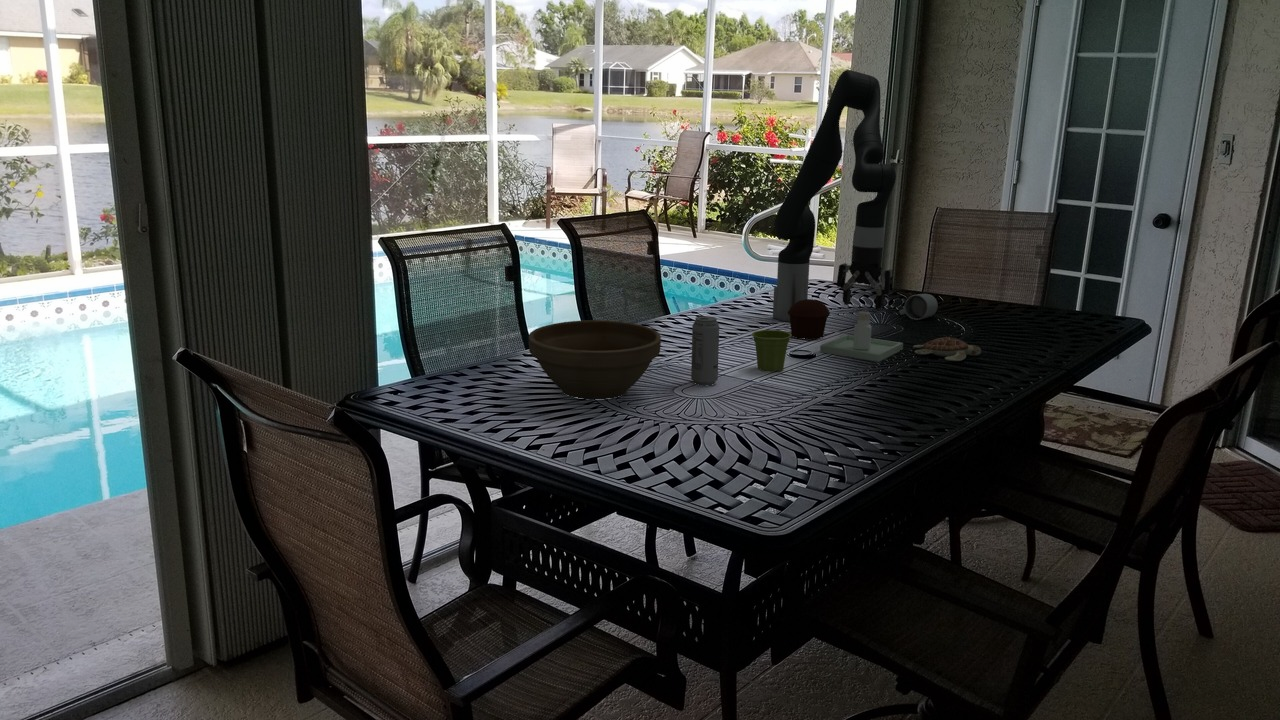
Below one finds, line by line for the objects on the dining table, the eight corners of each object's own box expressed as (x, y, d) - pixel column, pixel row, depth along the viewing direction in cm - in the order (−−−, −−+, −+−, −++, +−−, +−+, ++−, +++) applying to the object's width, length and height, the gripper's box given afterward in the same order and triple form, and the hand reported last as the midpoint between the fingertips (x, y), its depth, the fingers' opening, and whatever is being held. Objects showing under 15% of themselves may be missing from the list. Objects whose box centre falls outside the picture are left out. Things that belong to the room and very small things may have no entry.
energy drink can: (720, 386, 211) (722, 320, 207) (694, 387, 210) (695, 321, 206) (714, 378, 217) (715, 315, 213) (688, 379, 216) (690, 316, 212)
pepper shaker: (852, 346, 246) (855, 310, 244) (868, 346, 246) (871, 311, 243) (854, 350, 242) (857, 314, 240) (870, 350, 242) (872, 314, 240)
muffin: (800, 342, 253) (802, 305, 251) (778, 333, 263) (780, 298, 261) (837, 338, 258) (839, 302, 255) (814, 330, 268) (816, 295, 265)
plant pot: (746, 372, 223) (747, 336, 221) (755, 362, 232) (757, 328, 229) (785, 376, 220) (787, 340, 218) (793, 366, 228) (795, 331, 226)
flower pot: (677, 405, 196) (678, 344, 193) (543, 416, 189) (542, 353, 185) (638, 371, 223) (639, 317, 219) (519, 379, 215) (518, 323, 212)
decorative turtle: (985, 366, 231) (988, 347, 230) (916, 363, 234) (917, 343, 233) (975, 350, 248) (977, 331, 247) (910, 346, 252) (912, 328, 250)
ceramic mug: (938, 317, 286) (940, 292, 284) (926, 321, 280) (928, 296, 278) (906, 313, 293) (908, 289, 291) (893, 317, 287) (895, 292, 285)
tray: (819, 352, 243) (820, 345, 242) (845, 340, 255) (846, 334, 255) (878, 361, 233) (879, 354, 233) (902, 349, 246) (903, 343, 245)
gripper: (835, 242, 238) (830, 305, 242) (888, 248, 230) (882, 313, 234) (848, 239, 244) (843, 300, 248) (900, 245, 236) (894, 308, 240)
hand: (862, 306), depth 241 cm, fingers open, 8 cm apart
